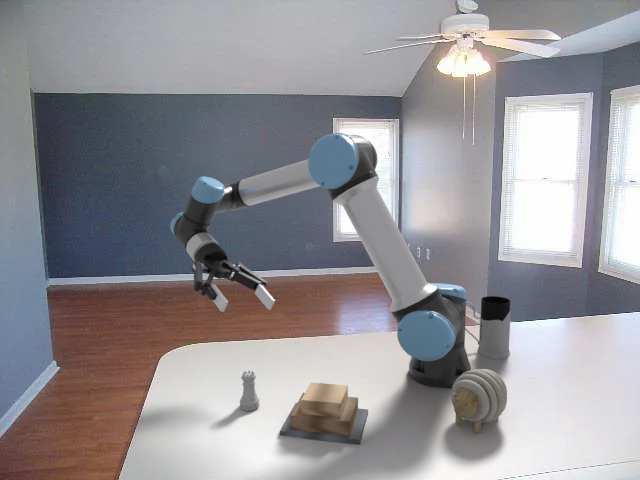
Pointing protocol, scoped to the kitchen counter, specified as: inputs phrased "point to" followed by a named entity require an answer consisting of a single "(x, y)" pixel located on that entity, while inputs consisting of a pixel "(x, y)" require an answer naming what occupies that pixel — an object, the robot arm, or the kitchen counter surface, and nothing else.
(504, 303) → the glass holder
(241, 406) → the rook chess piece
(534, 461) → the kitchen counter surface
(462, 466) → the kitchen counter surface
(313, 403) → the plinth
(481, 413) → the toy sheep
